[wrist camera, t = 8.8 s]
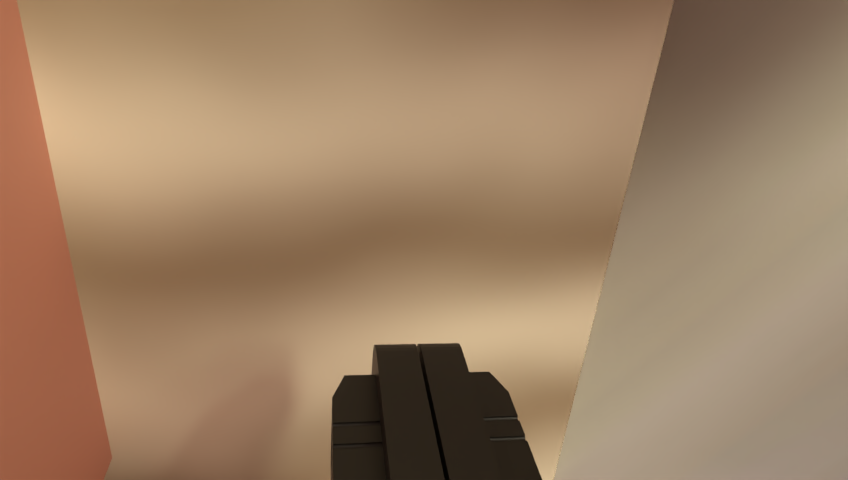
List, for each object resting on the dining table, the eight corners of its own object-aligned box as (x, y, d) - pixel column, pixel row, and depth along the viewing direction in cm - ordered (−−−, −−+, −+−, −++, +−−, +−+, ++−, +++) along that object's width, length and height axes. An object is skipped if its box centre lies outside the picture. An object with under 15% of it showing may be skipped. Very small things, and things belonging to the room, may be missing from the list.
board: (-1617, -826, 6) (-2454, -1153, 4) (730, -361, 11) (814, -422, 9) (-405, 587, 17) (-498, 670, 15) (527, 513, 22) (546, 570, 20)
